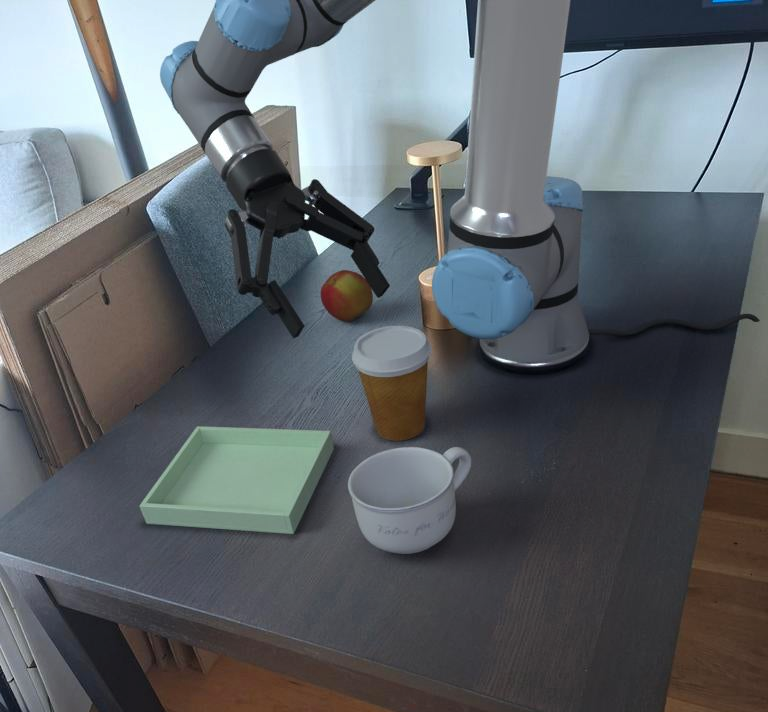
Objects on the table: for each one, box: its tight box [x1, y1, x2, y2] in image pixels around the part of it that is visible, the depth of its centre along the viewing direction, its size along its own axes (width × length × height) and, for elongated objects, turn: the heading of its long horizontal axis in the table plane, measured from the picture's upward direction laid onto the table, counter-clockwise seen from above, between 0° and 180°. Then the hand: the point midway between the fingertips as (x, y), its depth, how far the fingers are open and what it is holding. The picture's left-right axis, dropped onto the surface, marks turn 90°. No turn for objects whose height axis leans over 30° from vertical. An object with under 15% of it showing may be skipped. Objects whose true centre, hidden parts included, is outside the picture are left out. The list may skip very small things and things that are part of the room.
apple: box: [320, 269, 374, 323], centre depth 121 cm, size 8×8×8 cm
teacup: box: [347, 446, 472, 555], centre depth 79 cm, size 14×11×8 cm
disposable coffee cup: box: [351, 325, 432, 442], centre depth 93 cm, size 10×10×12 cm
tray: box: [138, 425, 335, 535], centre depth 91 cm, size 18×16×3 cm
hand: (343, 311), depth 94 cm, fingers open, 13 cm apart
